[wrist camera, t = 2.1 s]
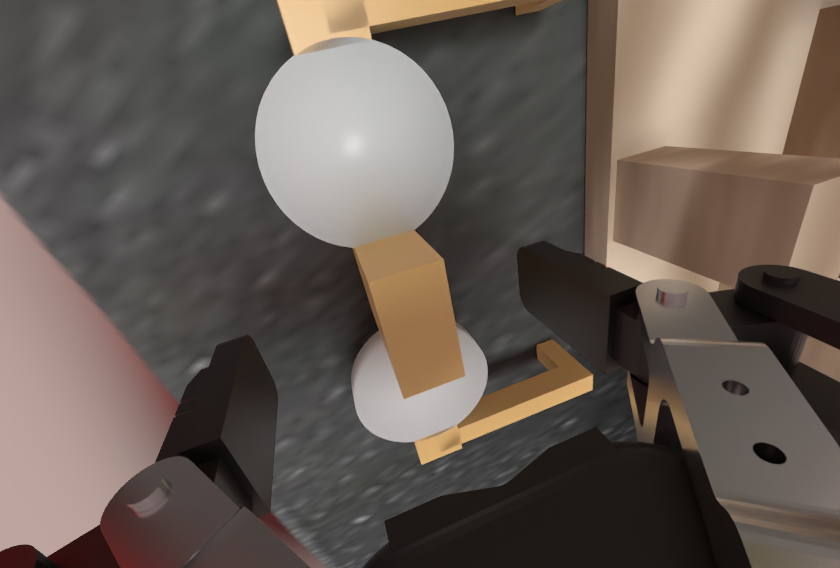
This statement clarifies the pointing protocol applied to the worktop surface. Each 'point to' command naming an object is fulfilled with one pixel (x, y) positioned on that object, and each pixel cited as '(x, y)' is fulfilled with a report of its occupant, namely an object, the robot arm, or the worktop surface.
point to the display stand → (714, 141)
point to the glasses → (390, 215)
